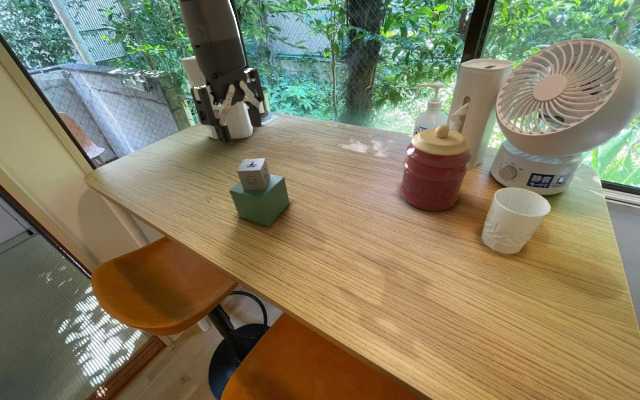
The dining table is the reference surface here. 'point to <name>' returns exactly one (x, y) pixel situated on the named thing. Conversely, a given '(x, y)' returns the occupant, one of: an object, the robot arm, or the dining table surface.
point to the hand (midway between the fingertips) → (242, 134)
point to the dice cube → (254, 174)
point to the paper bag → (238, 112)
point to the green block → (261, 201)
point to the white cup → (513, 219)
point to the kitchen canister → (435, 168)
